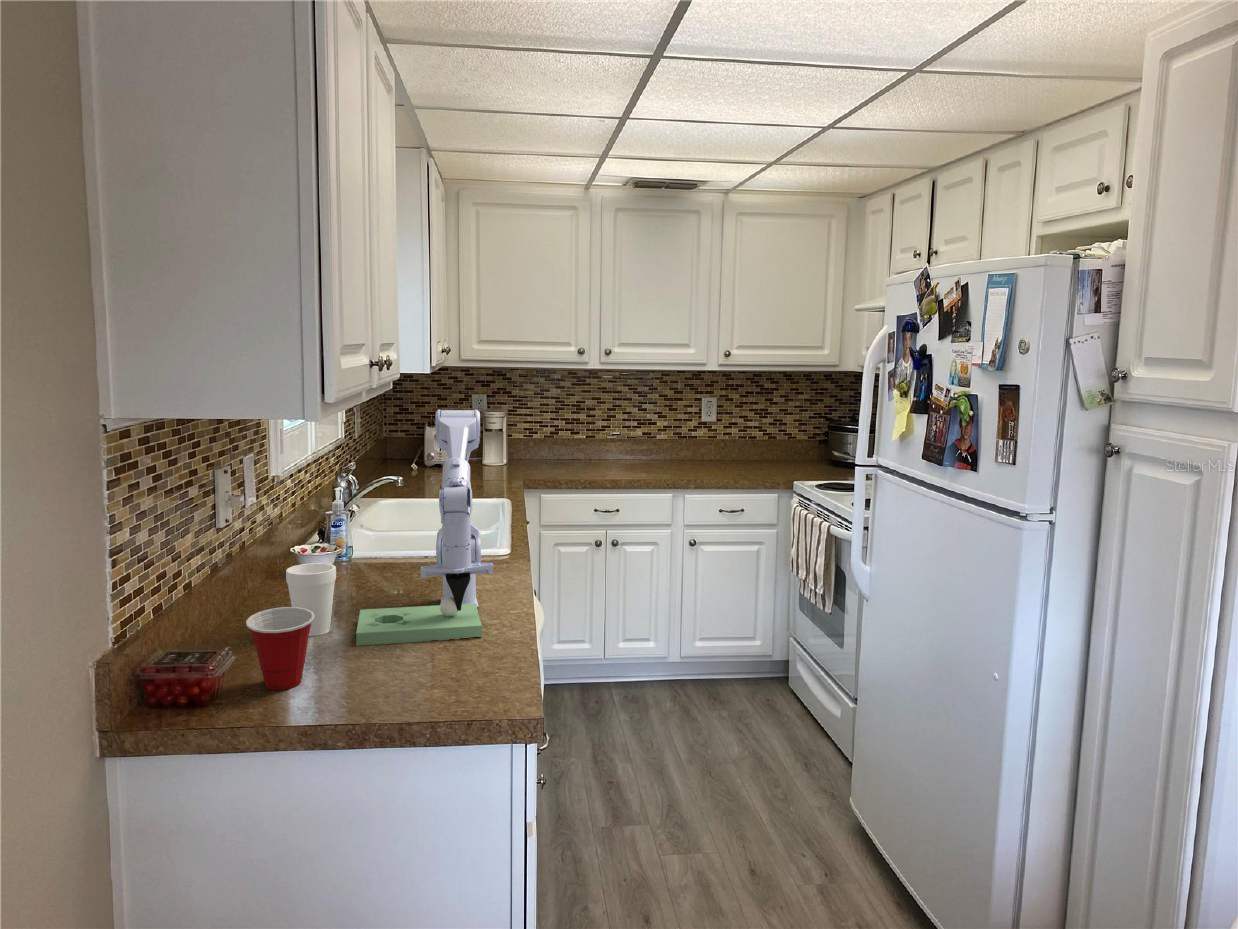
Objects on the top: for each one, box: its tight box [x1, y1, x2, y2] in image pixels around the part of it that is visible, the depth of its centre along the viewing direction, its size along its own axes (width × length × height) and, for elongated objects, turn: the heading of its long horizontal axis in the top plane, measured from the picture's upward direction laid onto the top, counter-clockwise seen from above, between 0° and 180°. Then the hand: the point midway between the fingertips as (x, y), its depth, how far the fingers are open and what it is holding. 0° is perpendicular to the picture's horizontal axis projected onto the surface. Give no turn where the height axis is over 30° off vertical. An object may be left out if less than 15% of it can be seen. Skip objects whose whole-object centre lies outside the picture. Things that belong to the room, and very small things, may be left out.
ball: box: [439, 597, 458, 617], centre depth 179 cm, size 4×4×4 cm
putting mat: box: [355, 603, 483, 647], centre depth 178 cm, size 16×24×2 cm, turn 104°
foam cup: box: [285, 562, 337, 637], centre depth 175 cm, size 10×9×13 cm
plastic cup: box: [245, 606, 315, 691], centre depth 147 cm, size 11×11×12 cm
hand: (457, 609), depth 179 cm, fingers closed, pressing on ball
